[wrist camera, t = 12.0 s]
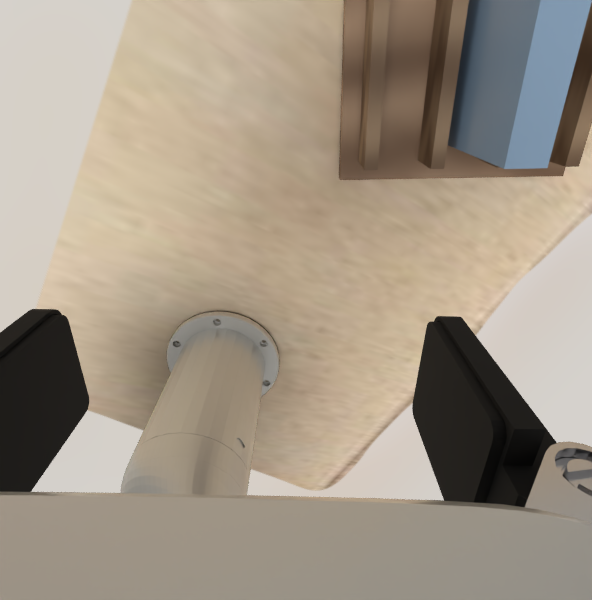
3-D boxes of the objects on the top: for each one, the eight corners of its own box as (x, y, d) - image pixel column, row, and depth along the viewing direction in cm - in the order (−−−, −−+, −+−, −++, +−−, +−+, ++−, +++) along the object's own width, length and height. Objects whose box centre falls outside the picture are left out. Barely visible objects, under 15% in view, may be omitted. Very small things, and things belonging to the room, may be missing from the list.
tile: (470, 141, 33) (547, 168, 22) (440, 142, 33) (504, 169, 23) (496, -10, 28) (609, -66, 18) (461, -8, 28) (554, -64, 18)
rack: (555, 173, 35) (592, 186, 31) (339, 177, 36) (344, 190, 31) (620, -66, 28) (683, -95, 23) (345, -56, 28) (353, -83, 24)
